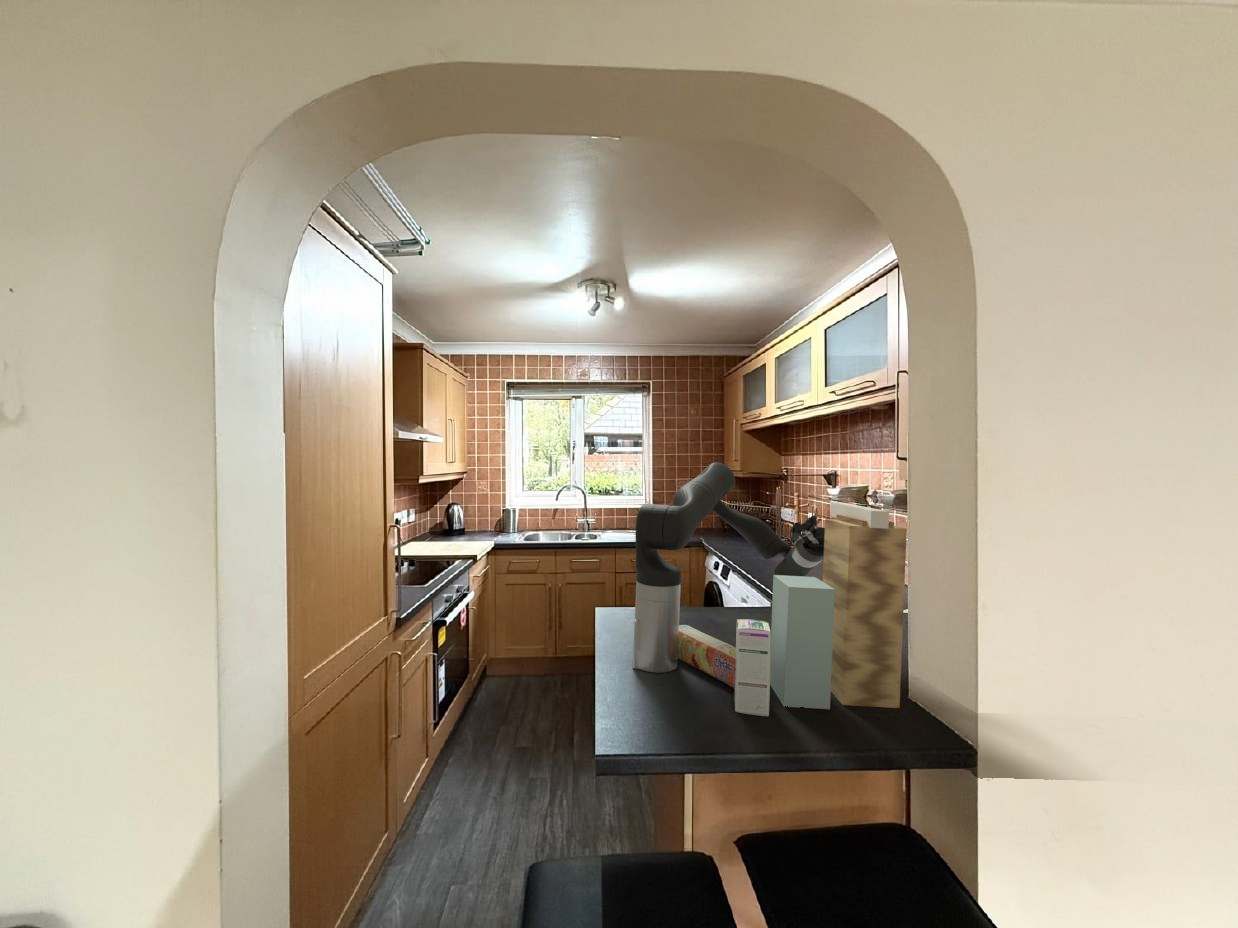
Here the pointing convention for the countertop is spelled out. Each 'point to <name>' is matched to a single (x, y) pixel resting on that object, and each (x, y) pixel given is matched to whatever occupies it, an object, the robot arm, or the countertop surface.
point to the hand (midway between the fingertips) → (834, 520)
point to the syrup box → (752, 667)
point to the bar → (862, 514)
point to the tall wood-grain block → (866, 610)
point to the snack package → (707, 654)
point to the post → (801, 641)
